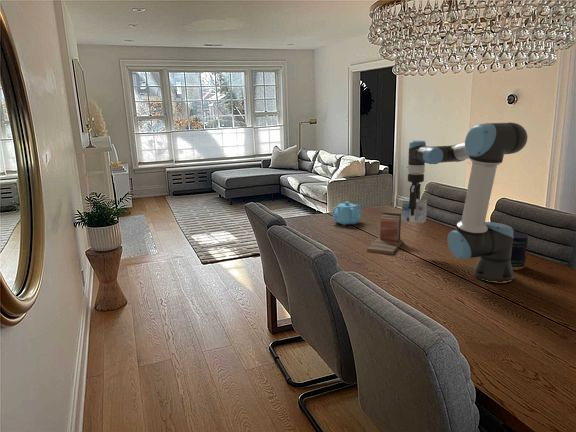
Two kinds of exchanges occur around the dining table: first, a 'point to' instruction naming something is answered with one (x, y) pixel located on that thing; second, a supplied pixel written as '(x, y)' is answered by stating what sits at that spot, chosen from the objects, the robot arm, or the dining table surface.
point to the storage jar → (519, 249)
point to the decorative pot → (346, 213)
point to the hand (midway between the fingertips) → (413, 219)
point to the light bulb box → (420, 210)
